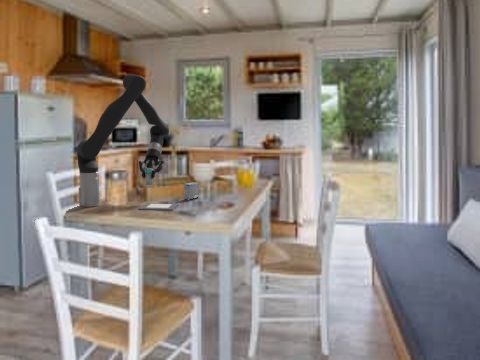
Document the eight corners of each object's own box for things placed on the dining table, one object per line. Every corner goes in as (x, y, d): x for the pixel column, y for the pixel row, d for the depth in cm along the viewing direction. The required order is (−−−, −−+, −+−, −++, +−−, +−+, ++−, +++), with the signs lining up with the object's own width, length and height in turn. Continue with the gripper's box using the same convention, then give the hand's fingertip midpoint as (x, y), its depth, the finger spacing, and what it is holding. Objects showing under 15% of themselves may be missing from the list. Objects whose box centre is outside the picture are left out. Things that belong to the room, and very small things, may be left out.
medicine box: (193, 197, 259) (193, 182, 258) (199, 198, 257) (199, 183, 255) (183, 199, 253) (183, 184, 252) (190, 200, 250) (189, 184, 249)
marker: (144, 185, 241) (143, 169, 240) (146, 183, 245) (146, 169, 244) (151, 185, 240) (151, 170, 239) (153, 184, 244) (153, 169, 243)
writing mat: (138, 209, 226) (138, 208, 226) (146, 204, 238) (146, 202, 238) (172, 210, 224) (172, 208, 224) (178, 205, 237) (178, 203, 237)
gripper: (139, 147, 248) (132, 172, 238) (165, 148, 247) (159, 173, 236) (142, 156, 254) (136, 181, 244) (168, 157, 253) (162, 182, 242)
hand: (147, 177), depth 240 cm, fingers closed on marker, 4 cm apart
